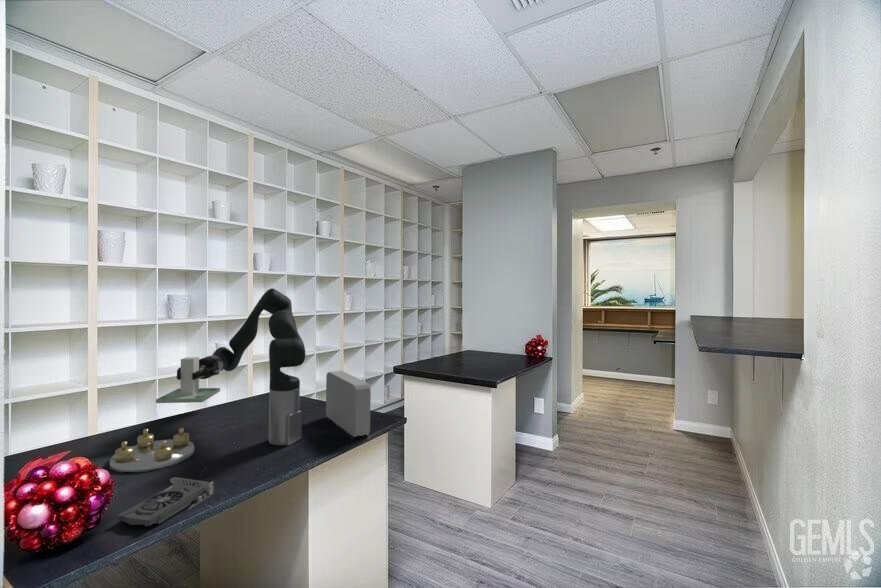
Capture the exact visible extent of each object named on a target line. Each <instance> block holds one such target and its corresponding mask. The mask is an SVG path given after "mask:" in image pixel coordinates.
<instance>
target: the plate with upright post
mask: <svg viewBox="0 0 881 588" xmlns="http://www.w3.org/2000/svg"><path fill="white" fill-rule="evenodd" d="M199 359H200V357H199V356H190V357H189V356H188V357H183V358H180V367H181V380H180V388H177V389H175V390H173V391H170V392H168V393H167V394H164V395H162V396H160V397H158V398H156V399H155V404H179V403H182V404H183V403H188V404H189V403H203V402H205V401H207V400H208V399H210V398H212V397H214V396H215V395H217V394H218V393H220V392H221V387H203V388H202V387H200V379H199V378H197V379H195V380H192V373H194V372H197V371H199Z"/></svg>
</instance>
